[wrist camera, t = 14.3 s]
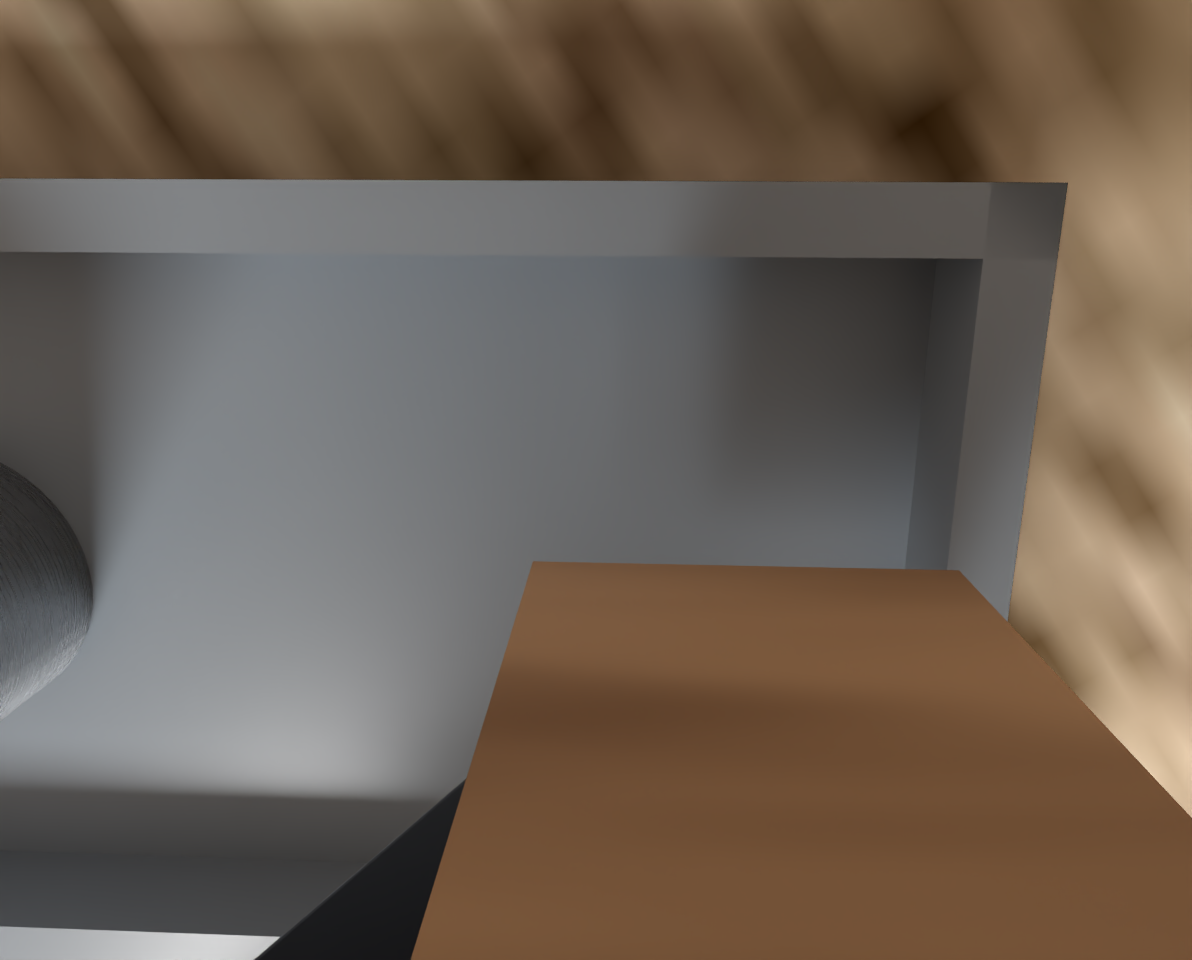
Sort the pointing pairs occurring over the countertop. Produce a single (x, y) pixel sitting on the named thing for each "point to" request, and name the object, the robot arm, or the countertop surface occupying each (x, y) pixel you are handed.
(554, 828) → the walnut block
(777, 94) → the countertop surface
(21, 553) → the grey peg
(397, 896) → the robot arm
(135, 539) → the parts tray
